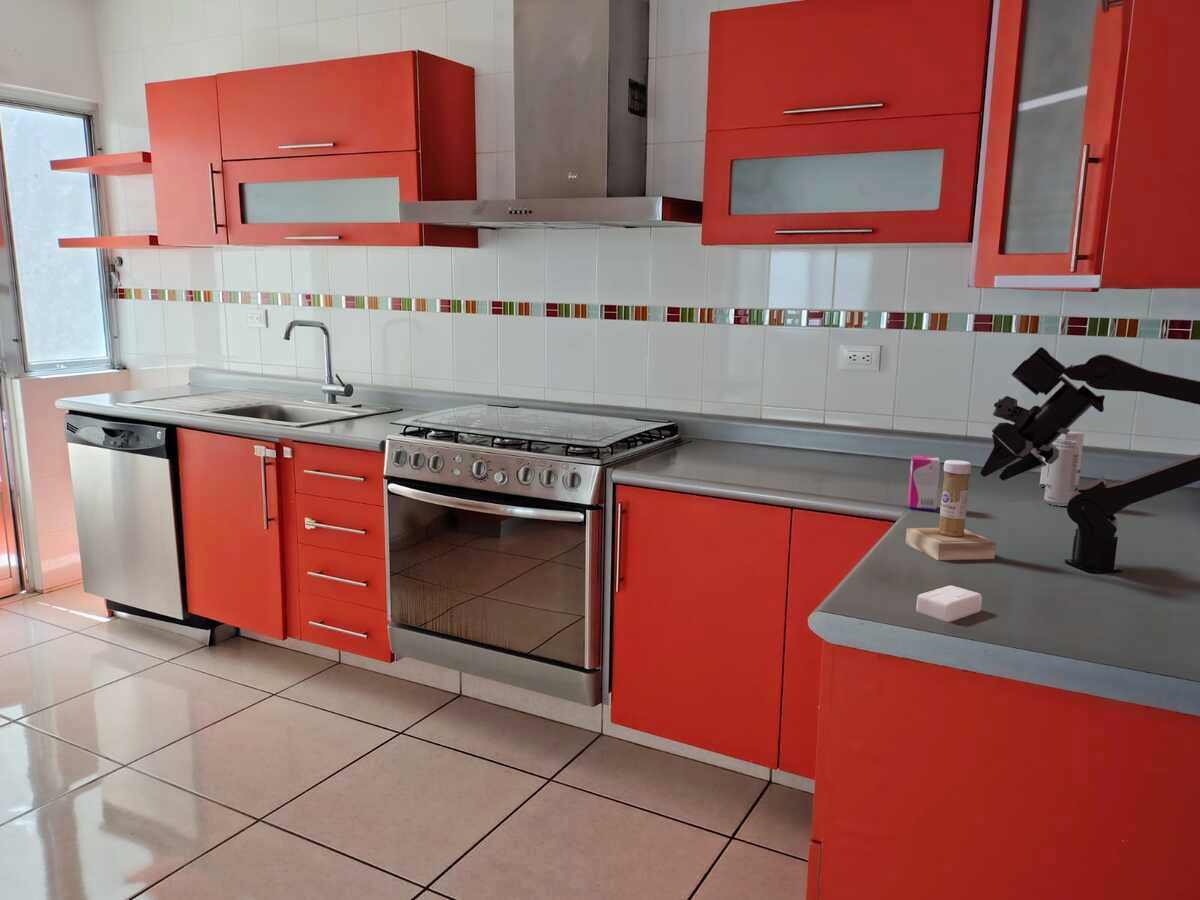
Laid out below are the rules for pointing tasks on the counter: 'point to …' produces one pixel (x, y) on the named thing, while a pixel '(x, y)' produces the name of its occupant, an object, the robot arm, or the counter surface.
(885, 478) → the counter surface
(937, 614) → the soap
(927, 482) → the supplement box
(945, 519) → the sprinkles bottle
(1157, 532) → the counter surface
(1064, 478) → the energy drink can
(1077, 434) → the skincare box
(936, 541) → the beech tray
